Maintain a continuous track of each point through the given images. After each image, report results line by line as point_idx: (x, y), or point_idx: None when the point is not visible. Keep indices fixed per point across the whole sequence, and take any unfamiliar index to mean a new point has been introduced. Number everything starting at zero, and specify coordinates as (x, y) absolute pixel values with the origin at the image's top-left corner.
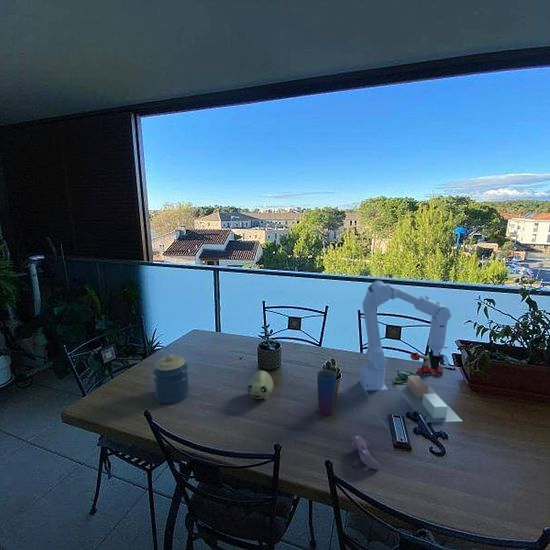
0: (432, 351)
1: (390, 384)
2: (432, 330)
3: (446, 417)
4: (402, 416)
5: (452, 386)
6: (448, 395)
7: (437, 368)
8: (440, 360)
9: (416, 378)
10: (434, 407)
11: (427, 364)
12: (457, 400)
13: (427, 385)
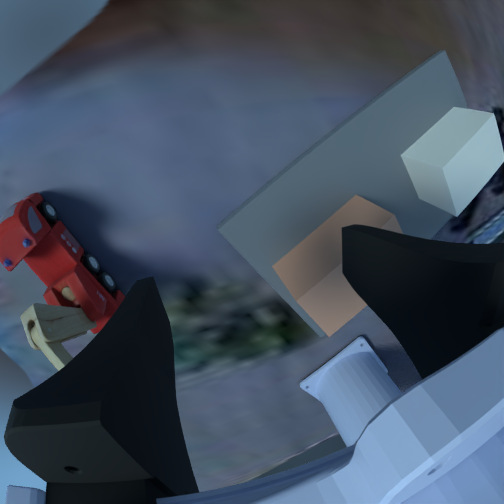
0: (174, 414)
1: (309, 349)
2: None
3: (451, 105)
4: (469, 235)
5: (129, 98)
6: (265, 97)
7: (366, 226)
8: (474, 247)
9: (336, 296)
10: (501, 160)
11: (73, 312)
12: (292, 50)
13: (389, 221)
